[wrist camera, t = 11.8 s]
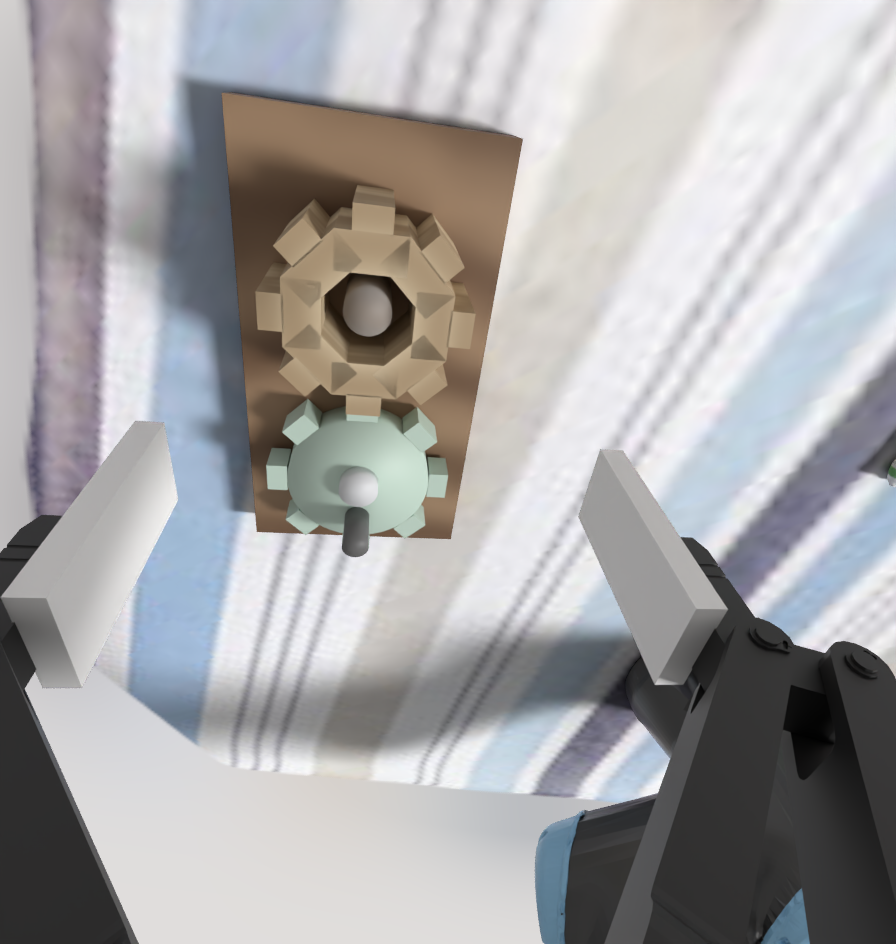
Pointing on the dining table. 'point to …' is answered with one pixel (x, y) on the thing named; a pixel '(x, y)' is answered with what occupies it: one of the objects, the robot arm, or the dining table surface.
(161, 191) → the dining table surface
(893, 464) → the dish towel
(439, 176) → the gear board
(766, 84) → the dining table surface
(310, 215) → the beech gear
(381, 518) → the gear
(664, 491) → the dining table surface
